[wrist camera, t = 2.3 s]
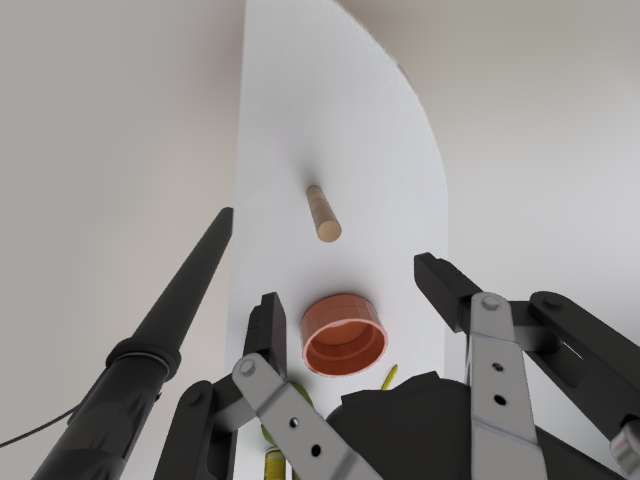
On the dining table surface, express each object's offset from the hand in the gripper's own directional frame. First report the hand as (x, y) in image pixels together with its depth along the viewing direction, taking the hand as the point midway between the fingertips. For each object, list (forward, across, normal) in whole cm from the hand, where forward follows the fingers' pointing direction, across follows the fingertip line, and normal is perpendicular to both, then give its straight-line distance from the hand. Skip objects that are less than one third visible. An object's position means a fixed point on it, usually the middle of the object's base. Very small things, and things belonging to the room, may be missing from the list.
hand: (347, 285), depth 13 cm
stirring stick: (+20, 0, +1) cm, 20 cm away
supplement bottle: (+20, +26, +68) cm, 75 cm away
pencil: (+21, -6, +51) cm, 55 cm away
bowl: (+20, +1, +26) cm, 33 cm away
